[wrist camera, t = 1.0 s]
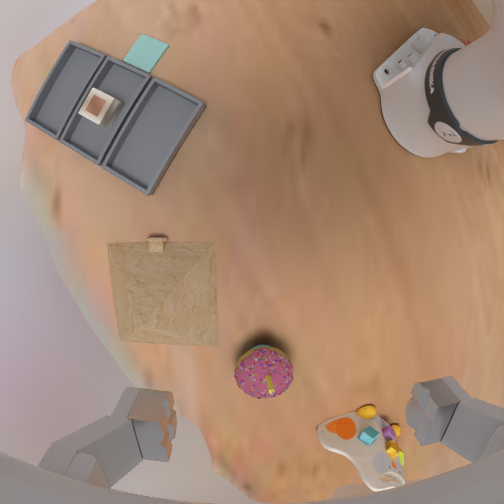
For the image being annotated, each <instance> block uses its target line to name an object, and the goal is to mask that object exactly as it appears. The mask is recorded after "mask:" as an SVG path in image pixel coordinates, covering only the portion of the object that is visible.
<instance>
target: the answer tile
mask: <svg viewBox="0 0 504 504" xmlns="http://www.w3.org/2000/svg"><path fill="white" fill-rule="evenodd" d="M168 47H169V45H168V44H165V43H163V42H161V41H158V40H156V39H154V38H151V37H149V36H146V35H144V34H142V35H141V36H140V37H139V39H138V40H137V41H136V43H135V44H134V45H133V47H132V48H131V50H130V51H129V53H128V54H127V55H126V57H125V58H124V60H123V61H124V62H126V63H128V64H130V65H132V66H134V67H137V68H139V69H141V70H143V71H145V72H147V73H149V74H150V73H151V71H152V70H153V68H154V67H155V65H156V64H157V62H158V61H159V60H160V58H161V57H162V55H163V54H164V53H165V51H166V50H167V48H168Z"/></svg>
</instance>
